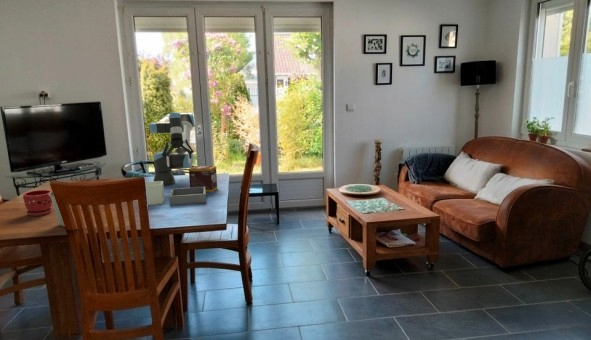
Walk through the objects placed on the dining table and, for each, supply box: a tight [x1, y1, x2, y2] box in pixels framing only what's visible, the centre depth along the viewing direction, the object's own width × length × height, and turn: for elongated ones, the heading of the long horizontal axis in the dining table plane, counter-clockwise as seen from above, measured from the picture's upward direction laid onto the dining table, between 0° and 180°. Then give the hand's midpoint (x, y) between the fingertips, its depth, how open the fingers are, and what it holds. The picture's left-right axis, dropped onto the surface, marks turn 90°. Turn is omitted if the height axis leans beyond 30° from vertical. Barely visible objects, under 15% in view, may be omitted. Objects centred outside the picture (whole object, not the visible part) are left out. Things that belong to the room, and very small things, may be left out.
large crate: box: [168, 187, 207, 207], centre depth 234 cm, size 20×20×6 cm
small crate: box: [145, 181, 165, 206], centre depth 230 cm, size 11×11×12 cm
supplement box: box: [188, 165, 218, 193], centre depth 259 cm, size 10×15×16 cm
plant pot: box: [22, 189, 53, 217], centre depth 211 cm, size 13×13×12 cm
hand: (178, 164), depth 253 cm, fingers open, 13 cm apart
